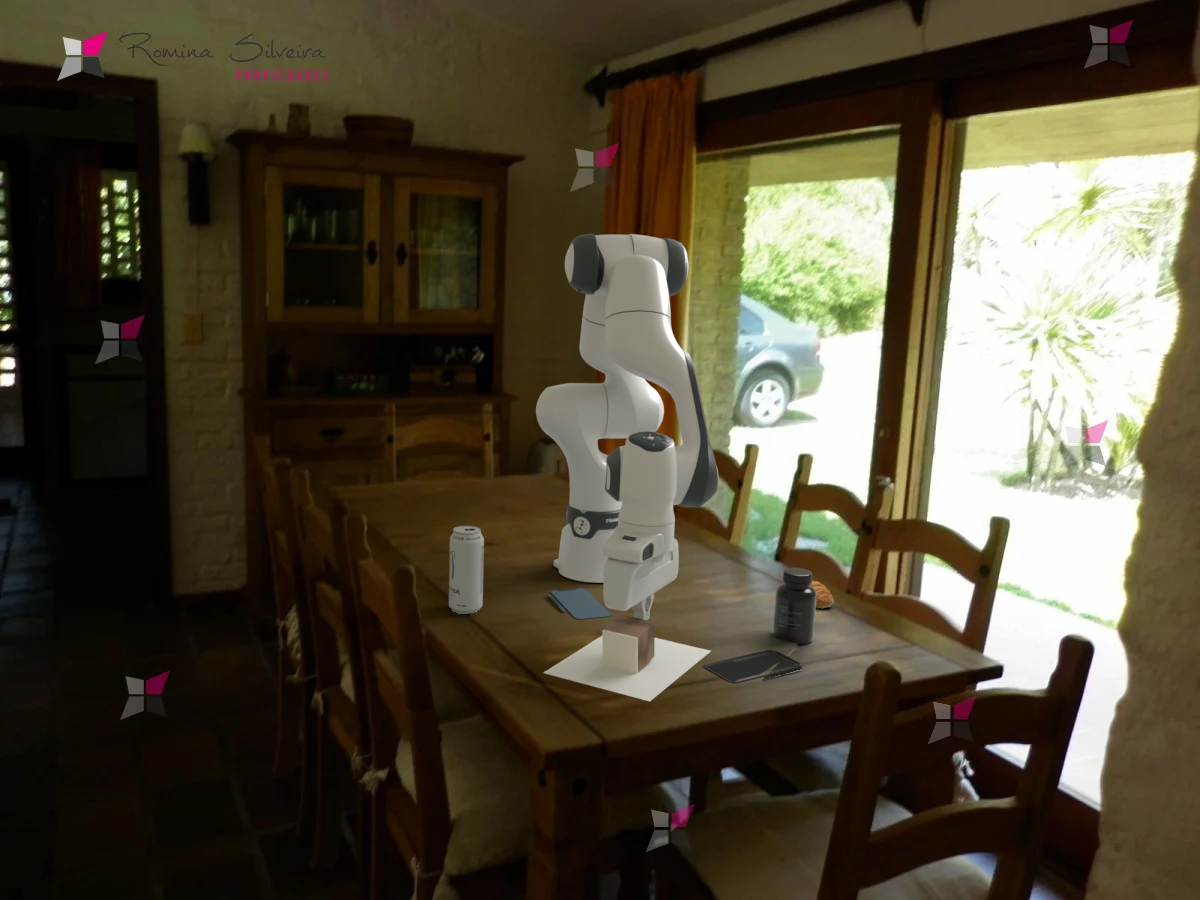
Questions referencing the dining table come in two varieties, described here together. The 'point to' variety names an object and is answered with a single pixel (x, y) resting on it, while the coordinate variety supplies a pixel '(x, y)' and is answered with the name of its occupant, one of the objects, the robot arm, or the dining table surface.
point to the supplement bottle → (795, 607)
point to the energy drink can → (466, 569)
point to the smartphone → (579, 604)
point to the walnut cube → (628, 643)
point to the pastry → (822, 595)
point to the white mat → (642, 685)
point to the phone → (753, 666)
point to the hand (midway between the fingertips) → (641, 620)
